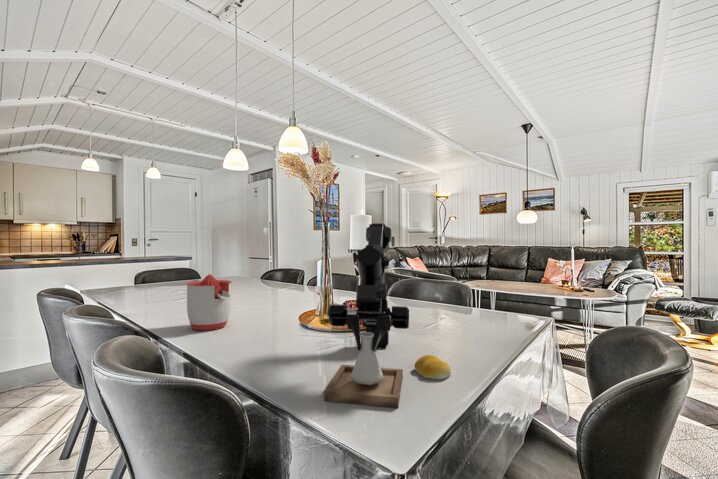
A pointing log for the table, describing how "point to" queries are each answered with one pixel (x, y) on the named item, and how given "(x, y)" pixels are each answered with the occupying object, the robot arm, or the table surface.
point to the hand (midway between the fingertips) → (366, 350)
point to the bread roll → (432, 367)
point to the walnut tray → (365, 388)
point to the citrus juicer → (208, 303)
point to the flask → (366, 362)
